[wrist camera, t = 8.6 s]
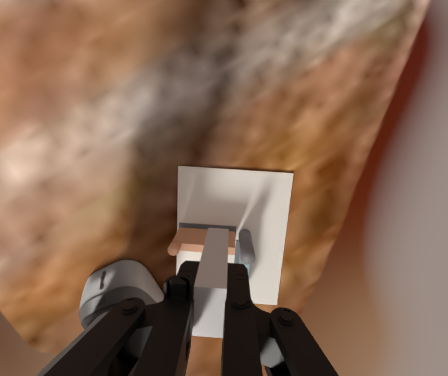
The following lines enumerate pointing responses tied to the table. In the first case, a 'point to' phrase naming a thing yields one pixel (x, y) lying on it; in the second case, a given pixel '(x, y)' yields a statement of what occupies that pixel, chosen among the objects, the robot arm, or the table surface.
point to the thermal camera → (112, 295)
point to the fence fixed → (246, 248)
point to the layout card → (239, 217)
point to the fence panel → (195, 241)
